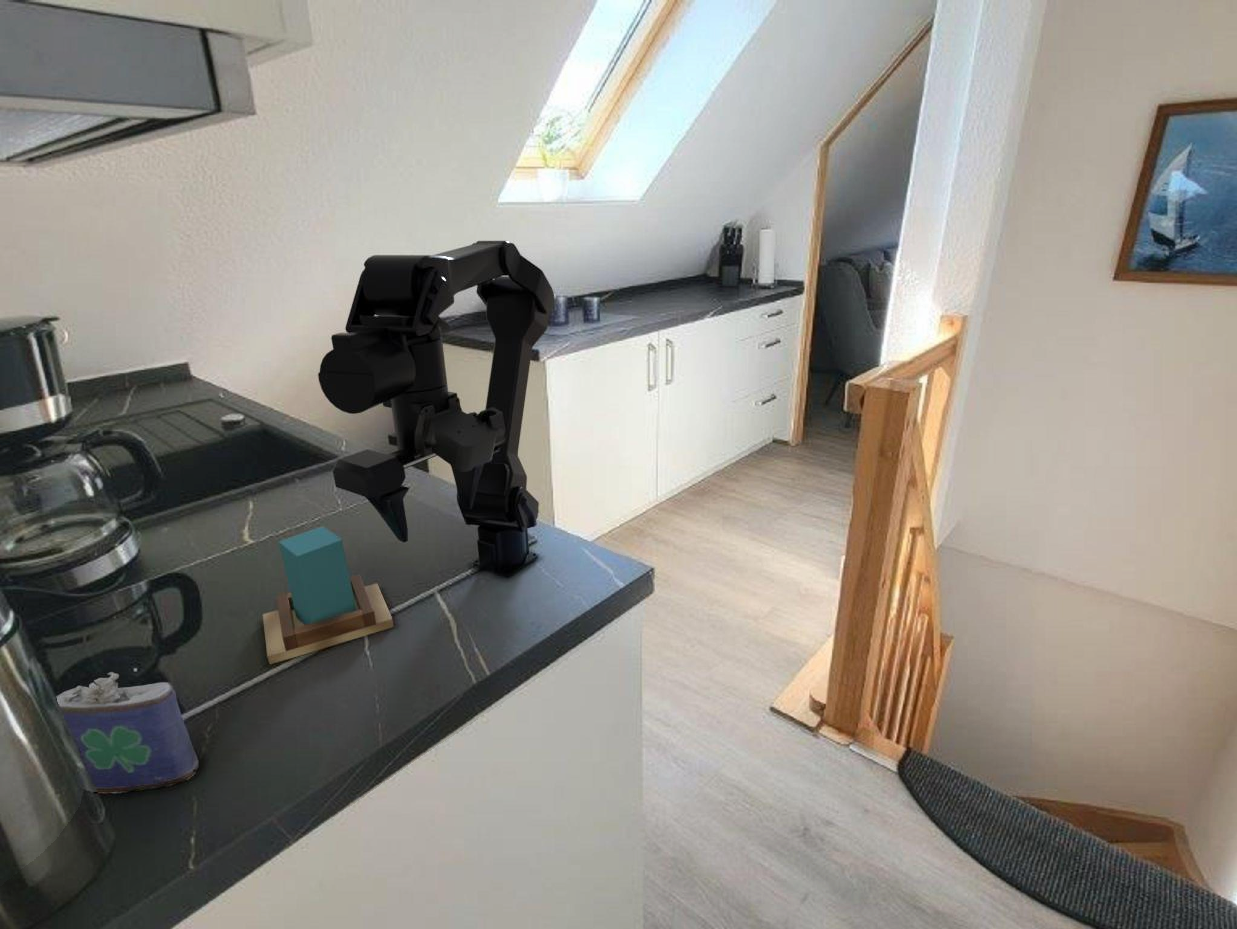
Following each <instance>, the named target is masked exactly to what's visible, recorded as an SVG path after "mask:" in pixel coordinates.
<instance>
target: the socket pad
mask: <svg viewBox="0 0 1237 929" xmlns="http://www.w3.org/2000/svg"><path fill="white" fill-rule="evenodd" d="M349 576H350V581H351V586H352V591H353V597H354V602H355V607H356V611H353V612H350V613H346V614H343V615H339V616H336V617H332V618H329V619H325V620H322V621H318V622H315V623H311V624H308V625H304V624H303V623H302V622H301V621H300V620H299V619H298V618H297V617H296V613H295V609H294V605H293V601H292V597H291V592H290V591H289V592H286V593H282V594H277V595H276V596H275V597H276V603H277V609H275V610H273V611H268V612H265V613H262V622H263V629H264V630H263V631H264V639H265V648H266V657H267V662H268V664H269V665H274V664H278V663H281V662H284V661H287V660H291V659H293V658H297V657H300V656H304V655H307V654H310V653H313V652H317V651H320V650H323V649H326V648H329V647H333V646H336V645H339V644H342V643H346V642H349V641H353V640H355V639H359V638H362V637H366V636H370V635H372V634H376V633H379V632H382V631H385V630H389V629H392V628H394V625H395V624H394V620H393V616H392V614H391V612H390V610H389V608H388V606H387V603H386V600H385V599H384V596H383V594H382V591H381V589H380V587H379V584H378V582H377V583H376V582H375V583H372V584H369V585H365V584H364V582H363V579H362V577H361V574H359V573H358V574H353V575H349Z"/></svg>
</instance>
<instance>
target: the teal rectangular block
mask: <svg viewBox="0 0 1237 929" xmlns="http://www.w3.org/2000/svg"><path fill="white" fill-rule="evenodd" d="M278 545H279V550H280V555H281V558H282V563H283V567H284V571H285V575H286V579H287V580H286V581H287V584H288V587H289V588H288V589H289V592H291V597H292V601H293V605H294V609H295V613H296V617H297V618H298V619H299V620H300V621H301V622H302V623H303V624H304V625H308V624H311V623H315V622H318V621H322V620H325V619H329V618H332V617H336V616H339V615H343V614H346V613H350V612H353V611H356V607H355V602H354V597H353V591H352V586H351V581H350V576H351V575H350V571H349V566H348V562H347V561H348V560H347V556H346V552H345V547H344V541H343V539H342V537H341V538H340V537H339V535H336V534H335V533H333V532H332V531H331V530H329V529H327V528H326V527H324V525H323V526H319V527H316V528H313V529H311V530H308V531H304V532H302V533H299V534H296V535H294V536H291V537H288V538H284V539H282V540H280V541H279V540H278Z"/></svg>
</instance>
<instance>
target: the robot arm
mask: <svg viewBox="0 0 1237 929" xmlns="http://www.w3.org/2000/svg"><path fill="white" fill-rule="evenodd" d="M363 267H364V269H363V270H362V271H361V273H360V276H359V278H358V282H357V286H356V289H355V293H354V297H353V300H352V303H351V305H350V306H351V307H350V310H349V314H348V317H347V319H346V320H347V321H346V324H345V328H344V329H345V332H338V333H335V334H332V335H331V338H330V339H331V344H332V349H331V350H330V351H328V352H326V354H325V355H324V356H323V357H322V360H321V363H320V365H319V372H317V374H318V375H317V377H318V378H317V379H318V382H319V387H320V389H321V391H322V393H323V394H324V396H325V398H326V399H327V400H328V402H329V403H330V404H331V405H332V406H334V407H335V408H336V409H338V410H340V411H341V412H344V413H346V414H350V415H356V414H361V413H363V412H366V411H368V410H370V409H372V408H375V407H377V406H379V405H382V407H385V408H389V409H391V412H392V421H393V425H394V432H393V433H390V434H387V438H388V445H391V446H394V447H397V450H396V451H393V452H390V453H383V452H380V451H377V450H373V449H370V448H367V449H364V450H361V451H358V452H355V453H352V454H349V455H346V456H344V457H341V458H337V461H336V462H335V463H334V466H333V469H332V475H333V479H334V485H335V488H338V489H341V490H343V491H346V492H350V493H352V494H355V495H359V496H362V497H364V498H365V499H366V500H367V501H368V502H369V503H370V504H371V505H372V506H373V508H374V509H375V510H376V511H377V513H378V514H379V515H380V517H381V518H382V519H383V521H384V522H385V524H386V525H387V527H388V528H389V530H391V532H392V533H393V534H394V536H395V537H396V539H397V540H398V541H399V542H401V543H402V542H403V543H407V542H408V541H409V529H408V522H407V516H406V509H405V504H404V498H405V496H406V495H407V493H408V492H409V490H410V487H409V486H405V485H403V484H404V482H405V480H406V471H405V469H408V468H410V467H413V466H415V465H418V464H420V463H423V462H426V461H428V460H430V459H432V458H435V457H439V458H440V459H442V460H443V461H444V462H446V463H447V464H449V465H450V467H451V471H452V476H453V479H454V483H455V486H456V502H457V506H458V508H459V510H460V513H461V516H462V518H463V520H464V523H465V525H466V526H471V525H472V526H476V527H477V538H478V539H477V540H476V542H477V543H476V544H477V553H478V558H476V559H474V560H473V561H472V565H473V566H474V567H476V568H479V569H482V570H484V571H487V572H490V573H492V574H495V575H498V576H500V577H504V578H511V577H512V576H513V575H515V574H516V573H518V572H519V571H521V570H522V569H524V568H526V567H527V566H529V565H530V564H531V563H533V562H534V561H536V560H537V559H538V558H539V553H537V552H534V551H531V550H530V543H529V531H528V530H529V529H531V528H535V527H536V526H537V519H538V517H539V512H540V510H539V507H540V502H539V501H538V500H537V499H536V498H535V497H534V496H533V495H532V494H531V493H530V492H529V491H528V490H527V485H528V484H527V482H528V476H527V473H526V470H525V469H524V466H523V464H522V462H521V459H520V457H519V448H520V439H521V433H522V425H523V417H524V409H525V403H526V397H527V396H526V395H527V388H528V381H529V374H530V366H531V359H532V353H533V352H532V351H533V347H534V346H535V345H536V344H537V342H538V341H539V340H540V339H541V337H542V336H543V335H544V334H545V332H546V331H547V330H548V326H549V321H550V318H551V313H552V312H553V309H554V308H555V292H554V289H553V287H552V285H551V284H550V282H549V279H548V278H547V276H546V275H545V273H544V271H543V270H542V269H541V267H539V266H537V265H536V264H534V263H532V262H531V261H530V260H528V259H527V258H526V257H525V256H523V255H522V254H521V252H520V251H519V249H518V248H517V246H516V244H514V243H513V242H510V241H509V240H477V241H476V242H473V243H471V244H470V245H466V246H463V247H458V248H454V249H451V250H447V251H443V252H439V253H435V254H432V255H431V254H427V255H426V254H374V255H371V256H369V257H368V258H367V259H366V260H364V263H363ZM473 287H476V295H477V296H478V297H479V298H480V300H481V301H482V303H483V304H484V305H485V319H486V321H487V324H488V326H489V328H490V330H491V332H492V335H493V337H494V344H493V345H494V346H493V351H492V352H493V353H492V360H491V367H490V372H489V379H488V380H489V381H488V388H487V396H486V401H485V402H486V403H485V407H484V408H485V409H483V410H481V411H480V412H478V413H477V412H476V411H473V412H471V411H470V412H468V413H466V412H464V411H463V409H462V406H461V400H460V398H459V397H458V393H457V392H453V391H449V386H448V378H447V376H448V375H447V370H446V360H445V353H444V352H445V351H444V344H443V336H444V335H446V334H449V333H451V332H452V326H451V324H449V323H448V322H447V321H446V320H444V319H443V318H441V317H440V315H441V314H443V313H445V312H446V311H447V310H449V308H451V307H452V306H453V305H454V303H455V295H457V294H458V293H461V292H463V291H465V290H468V289H472V288H473Z"/></svg>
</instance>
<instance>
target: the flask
mask: <svg viewBox="0 0 1237 929" xmlns="http://www.w3.org/2000/svg"><path fill="white" fill-rule="evenodd" d="M107 675H109V677H99V678H98V677H97V679H94V680H93V682H91V683H90V684H89V685H88V686H82V685H78V686H76V687H74V688H71V689H68V690H64V691H63V692H62V693H60V694H57V695H56V696H55V698H57V702H58V704H59V706H60V708H61V710H62V712H63V714H64V716H65V719H66V721H67V722H68V725H69V727H70V729H71V731H72V734H73V736H74V739H75V740H76V742H77V745H78V748H79V749H80V751H81V755H82V757H83V759H84V762H85V763H86V766H87V769H88V771H89V774H90V776H91V777H92V780H93V781H94V784H95V787H96V788H97V792H98V793H97V794H121V793H129V792H131V791H144V790H152V789H156V788H157V789H158V788H163V787H170V786H173V785H176V784H178V783H182V782H183V783H184V782H185V781H189V780H190V779H191V778H192V777H194V775H196V773H197V771H198V770H199V767H200V766H199V759H198V756H197V754H196V751H195V749H194V747H193V744H192V741H191V739H190V735H189V732H188V729H187V726H186V723H185V721H184V718H183V715H182V712H181V709H180V707H179V703H178V699H177V693H176V690H175V689H174V686H173V685H172V683H171V682H166V681H162V682H155V683H148V684H143V685H134V686H126V687H119V683H118V682H117V680H118V679H119V678H120V675H119V674H118V673H115V672H113V671H110V672H108V673H107Z"/></svg>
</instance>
